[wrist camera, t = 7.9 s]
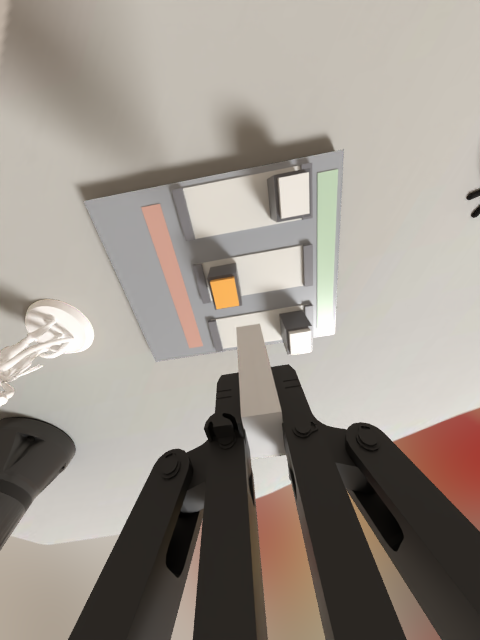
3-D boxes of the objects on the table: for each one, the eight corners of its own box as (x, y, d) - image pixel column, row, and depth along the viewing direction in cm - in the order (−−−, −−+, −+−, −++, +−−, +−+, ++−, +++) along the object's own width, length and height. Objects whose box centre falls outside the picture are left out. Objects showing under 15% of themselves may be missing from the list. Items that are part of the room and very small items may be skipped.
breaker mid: (217, 295, 27) (214, 312, 23) (210, 267, 25) (206, 279, 21) (241, 291, 27) (242, 307, 23) (236, 262, 25) (236, 274, 21)
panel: (159, 354, 34) (154, 365, 32) (93, 201, 24) (79, 201, 22) (329, 327, 32) (336, 337, 30) (336, 152, 22) (347, 147, 20)
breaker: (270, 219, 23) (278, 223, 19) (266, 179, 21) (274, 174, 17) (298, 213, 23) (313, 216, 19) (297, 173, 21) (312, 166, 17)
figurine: (11, 316, 30) (-163, 407, 17) (58, 288, 28) (-95, 364, 15) (63, 361, 34) (-45, 463, 21) (107, 338, 32) (20, 434, 19)
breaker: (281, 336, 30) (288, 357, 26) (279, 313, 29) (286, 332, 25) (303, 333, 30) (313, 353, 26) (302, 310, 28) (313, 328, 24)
